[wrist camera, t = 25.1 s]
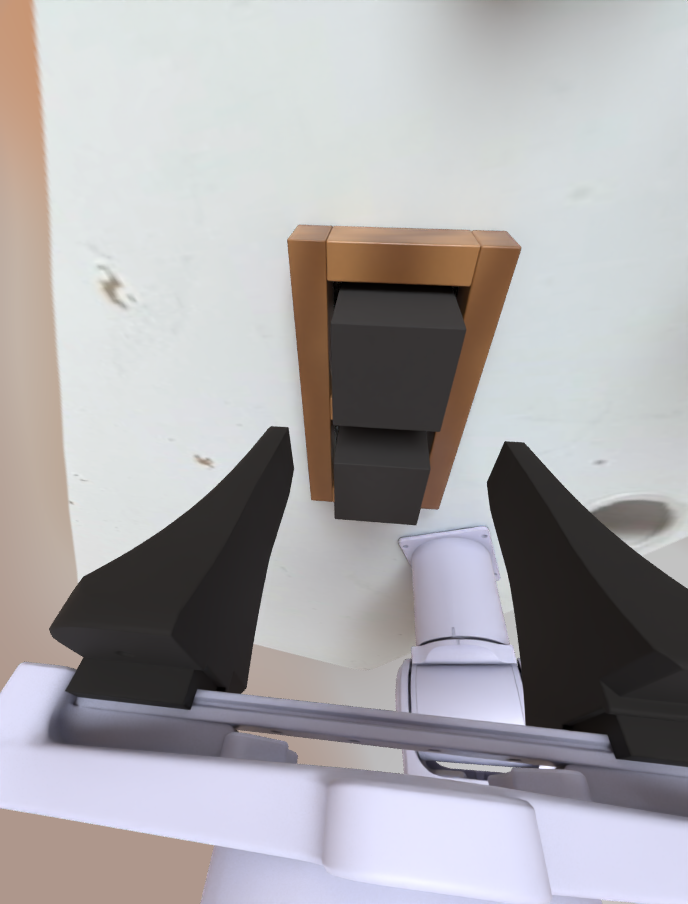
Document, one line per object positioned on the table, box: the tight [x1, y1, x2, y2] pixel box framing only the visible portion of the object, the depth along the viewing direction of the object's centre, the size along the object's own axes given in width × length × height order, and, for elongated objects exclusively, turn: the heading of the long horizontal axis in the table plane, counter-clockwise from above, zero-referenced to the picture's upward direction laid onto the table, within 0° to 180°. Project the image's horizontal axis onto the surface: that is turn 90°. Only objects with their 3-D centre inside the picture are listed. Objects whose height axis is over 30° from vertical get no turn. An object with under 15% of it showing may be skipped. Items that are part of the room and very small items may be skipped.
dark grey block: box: [334, 426, 431, 525], centre depth 23 cm, size 5×5×6 cm
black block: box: [331, 282, 467, 432], centre depth 17 cm, size 5×5×6 cm
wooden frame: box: [287, 225, 521, 509], centre depth 21 cm, size 9×17×2 cm, turn 179°
